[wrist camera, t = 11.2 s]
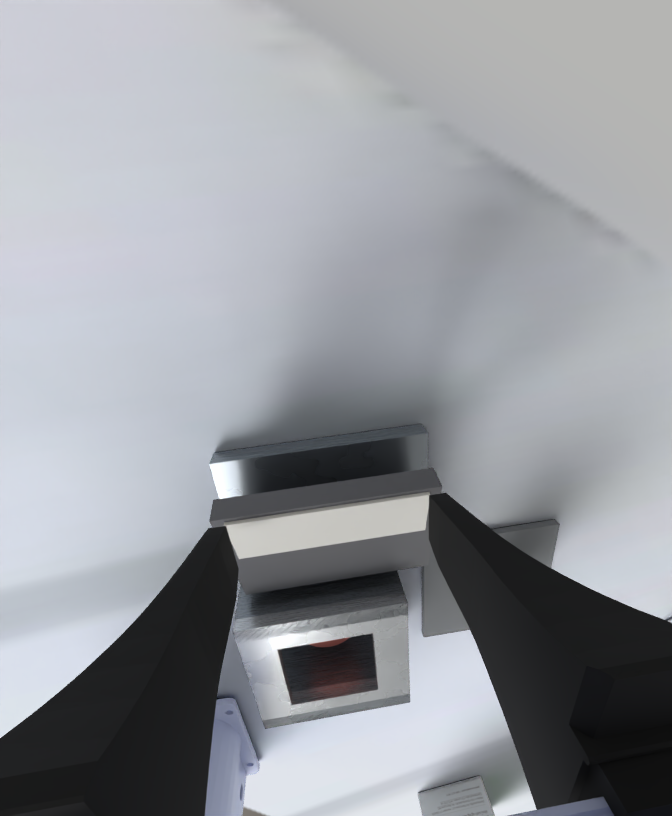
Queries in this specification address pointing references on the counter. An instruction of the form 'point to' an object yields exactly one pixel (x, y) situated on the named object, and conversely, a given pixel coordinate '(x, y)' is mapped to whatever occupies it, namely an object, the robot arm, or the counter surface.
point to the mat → (438, 598)
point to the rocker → (329, 530)
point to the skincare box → (457, 799)
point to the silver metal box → (323, 589)
